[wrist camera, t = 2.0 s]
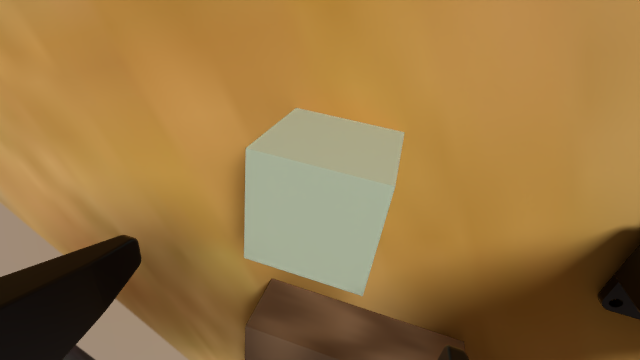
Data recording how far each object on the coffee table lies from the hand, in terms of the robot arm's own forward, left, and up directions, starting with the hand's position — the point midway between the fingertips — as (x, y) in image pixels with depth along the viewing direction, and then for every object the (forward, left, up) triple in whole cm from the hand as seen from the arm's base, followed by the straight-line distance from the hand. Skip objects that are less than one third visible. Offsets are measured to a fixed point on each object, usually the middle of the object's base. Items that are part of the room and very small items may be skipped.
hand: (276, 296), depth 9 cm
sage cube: (0, 0, -8) cm, 8 cm away
